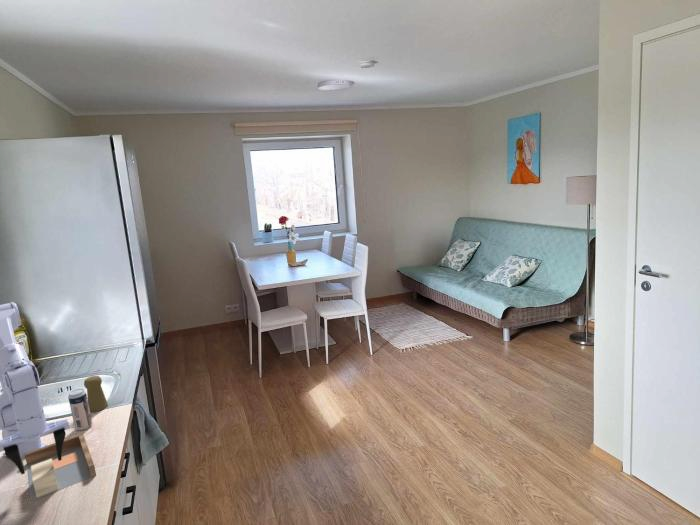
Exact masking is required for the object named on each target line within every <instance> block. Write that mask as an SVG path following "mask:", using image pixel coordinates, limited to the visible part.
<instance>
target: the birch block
mask: <svg viewBox="0 0 700 525" xmlns="http://www.w3.org/2000/svg"><path fill="white" fill-rule="evenodd" d="M31 471H32V479H33V484H34V489H35V493H36V497H37V498H38V497H40V496H43V495H45V494H48V493H50V492H53V491H55V490H58V484H57V479H56V474H55V470H54V466H53V461H52V458H51V459H49V460H46V461H43V462H40V463H38V464H35V465H32V466H31ZM58 491H59V490H58ZM53 493H54V492H53ZM48 495H49V494H48ZM43 497H44V496H43ZM38 499H39V498H38Z"/></svg>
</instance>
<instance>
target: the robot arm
mask: <svg viewBox="0 0 700 525" xmlns="http://www.w3.org/2000/svg"><path fill="white" fill-rule="evenodd" d="M20 323H21V315H20V311H19V308H18V305H17V303H16V302H14V301H11V302H8V303H3V304H0V385H1V389H2V393H1V395H0V430H1V437H2V439H1V440H0V453H1V452H3V453H2V456H3V455H4V457H6V458H8V459H9V460H10V461H11V462H12V463H13V464H15V466H16V467H17V468H18V470H19V472H20V474H21V475H24V474H26V471H25V465H24V461H23V460H22V459H23V458H25V453H28V452H30V451H33V450H36V449H39V448H42V447H45V446H48V445H49V444H46V443H44V442H42V439H41V438H42V437H45V436H48V435H52V434H53V439H54V443H56V451H57V457H58V461H60V460H62V458H61V452H62V446H63V442H64V440H65V439H66V435H67V434H66V430H69V429H70V423H69V420H68V418H65V419H63V420H62V419H61V420H58V421H52V422H48V423H47V420H46V419H47V418H46V415H45V411H44V406H43V402H42V398H41V394H40V388H39V387H40V385H41V384H40V381H41V380H40V377H39V376H40V375H39V372H38V369H37V367H36V366H35V364H34V363H33V361H32V360H30V359H29V356H28V354H27V351H26V349H25V347H24V346H23V345H21V344H19V343H17V340H16V337H15V333H14V332H15V330H17V329H19V326H20Z"/></svg>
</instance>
